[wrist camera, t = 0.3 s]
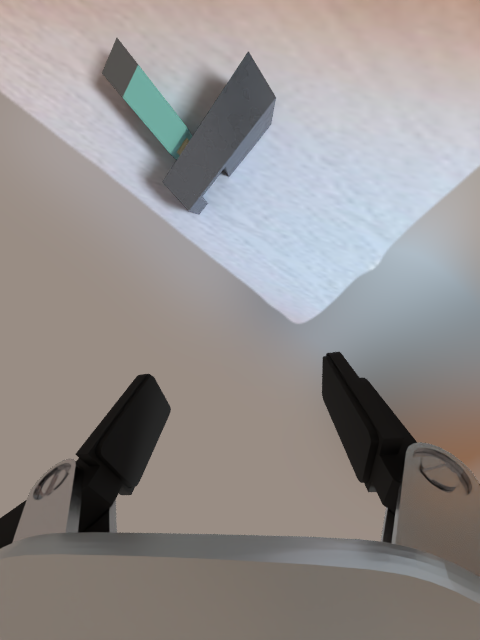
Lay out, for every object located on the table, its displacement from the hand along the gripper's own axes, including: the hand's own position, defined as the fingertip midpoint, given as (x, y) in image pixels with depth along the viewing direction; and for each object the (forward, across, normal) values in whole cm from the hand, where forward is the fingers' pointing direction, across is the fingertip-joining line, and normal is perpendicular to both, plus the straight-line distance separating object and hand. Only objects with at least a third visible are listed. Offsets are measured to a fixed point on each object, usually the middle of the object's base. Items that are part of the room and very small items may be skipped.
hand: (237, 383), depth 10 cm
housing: (+30, +1, -19) cm, 36 cm away
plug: (+30, +9, -25) cm, 41 cm away
